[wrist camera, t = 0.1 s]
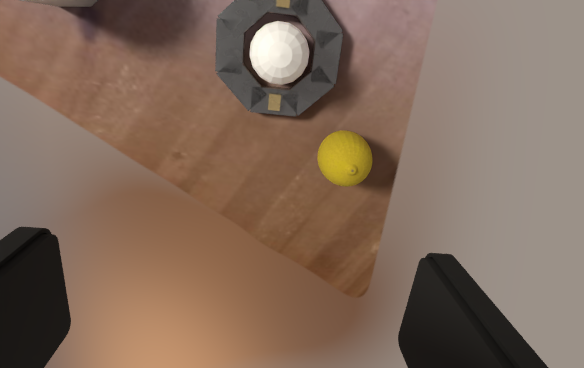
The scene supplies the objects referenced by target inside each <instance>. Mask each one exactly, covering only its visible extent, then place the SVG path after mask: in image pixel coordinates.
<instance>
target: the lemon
mask: <svg viewBox="0 0 584 368" xmlns="http://www.w3.org/2000/svg"><path fill="white" fill-rule="evenodd" d="M318 164H319V167H320V169H321V172H322V173H323V174H324V176H325V177H326V178H327V179H328V180H330V181H331V182H332V183H334V184H337V185H339V186H353V185H356V184H358V183H360V182H362V181H363V180H364V179H365V178H366V177H367V175H368V174H369V172H370V170H371V167H372V153H371V149H370V147H369V145H368V143H367V142H366V141H365V140H364V139H363V138H362V137H361V136H360V135H358V134H356V133H354V132H351V131H337V132H334V133H332V134H330V135H329V136H327V137H326V138H325V139H324V140H323V142H322V143H321V145H320V148H319V150H318Z"/></svg>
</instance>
